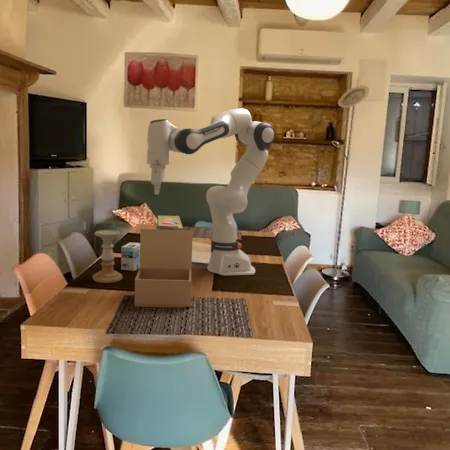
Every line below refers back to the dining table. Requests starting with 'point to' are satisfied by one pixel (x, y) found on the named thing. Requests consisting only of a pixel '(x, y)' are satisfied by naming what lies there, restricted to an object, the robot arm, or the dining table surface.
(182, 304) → the carton
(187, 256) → the cardboard box lid
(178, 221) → the soda box
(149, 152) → the robot arm
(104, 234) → the candle holder
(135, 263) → the light bulb box
